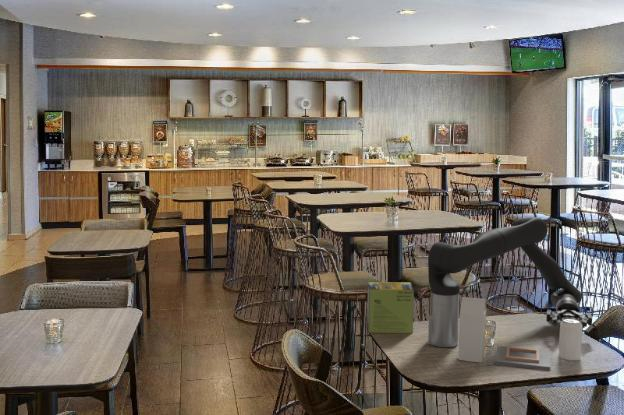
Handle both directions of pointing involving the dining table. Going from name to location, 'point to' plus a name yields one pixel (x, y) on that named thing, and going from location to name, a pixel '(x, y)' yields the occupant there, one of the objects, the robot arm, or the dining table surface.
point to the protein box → (390, 307)
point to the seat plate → (522, 357)
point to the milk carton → (472, 329)
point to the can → (570, 339)
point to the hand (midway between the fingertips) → (569, 323)
